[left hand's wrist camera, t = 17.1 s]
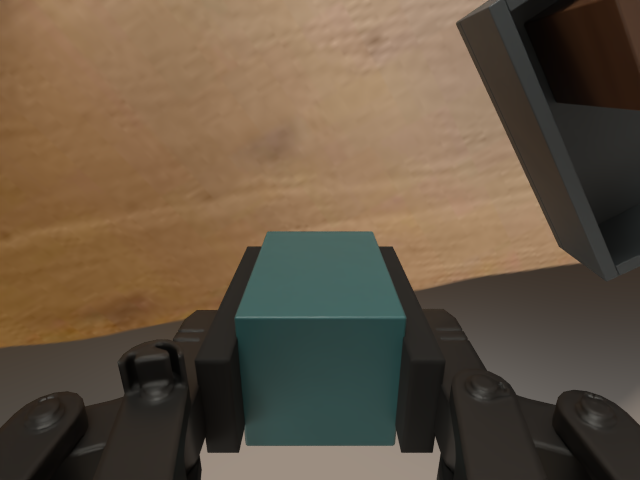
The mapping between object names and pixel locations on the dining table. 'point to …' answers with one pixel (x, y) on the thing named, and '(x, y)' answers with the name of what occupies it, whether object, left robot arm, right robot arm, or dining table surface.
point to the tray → (562, 142)
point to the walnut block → (590, 51)
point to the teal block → (320, 342)
